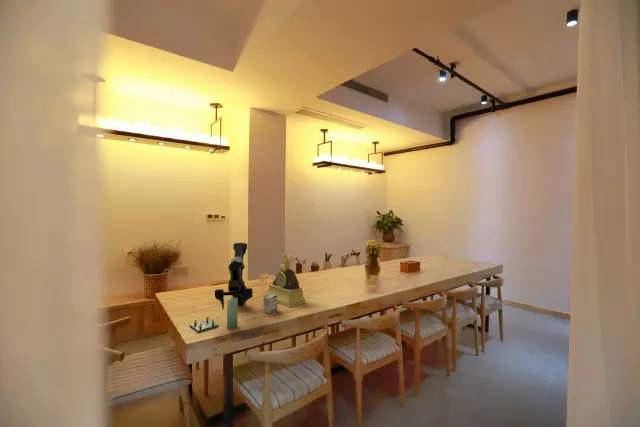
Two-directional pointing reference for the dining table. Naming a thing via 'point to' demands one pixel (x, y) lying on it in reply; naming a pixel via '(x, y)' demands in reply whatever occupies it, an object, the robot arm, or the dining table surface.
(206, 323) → the plate
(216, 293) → the robot arm
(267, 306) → the medicine box
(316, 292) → the dining table surface
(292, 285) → the decorative clock
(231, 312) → the teal wooden post
